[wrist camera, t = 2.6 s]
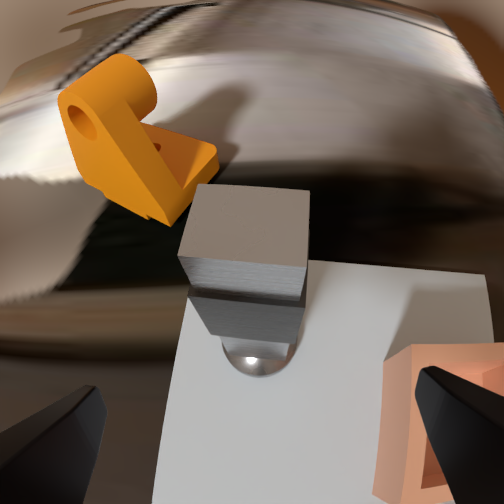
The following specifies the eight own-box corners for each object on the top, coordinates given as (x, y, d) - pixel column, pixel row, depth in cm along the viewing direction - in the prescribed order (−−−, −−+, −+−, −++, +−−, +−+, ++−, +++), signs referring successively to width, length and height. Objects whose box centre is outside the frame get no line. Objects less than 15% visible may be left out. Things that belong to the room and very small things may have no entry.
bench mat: (483, 507, 12) (485, 508, 12) (153, 508, 14) (150, 510, 14) (482, 277, 21) (484, 274, 20) (199, 252, 23) (198, 250, 23)
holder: (484, 475, 13) (524, 478, 9) (371, 494, 14) (399, 509, 10) (488, 359, 17) (526, 340, 13) (383, 362, 18) (411, 344, 14)
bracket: (225, 170, 27) (205, 42, 17) (173, 233, 24) (119, 101, 14) (138, 139, 30) (103, 37, 20) (89, 188, 27) (33, 86, 17)
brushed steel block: (292, 381, 18) (330, 308, 7) (218, 372, 18) (145, 288, 8) (299, 312, 20) (330, 168, 9) (229, 305, 21) (187, 159, 10)
